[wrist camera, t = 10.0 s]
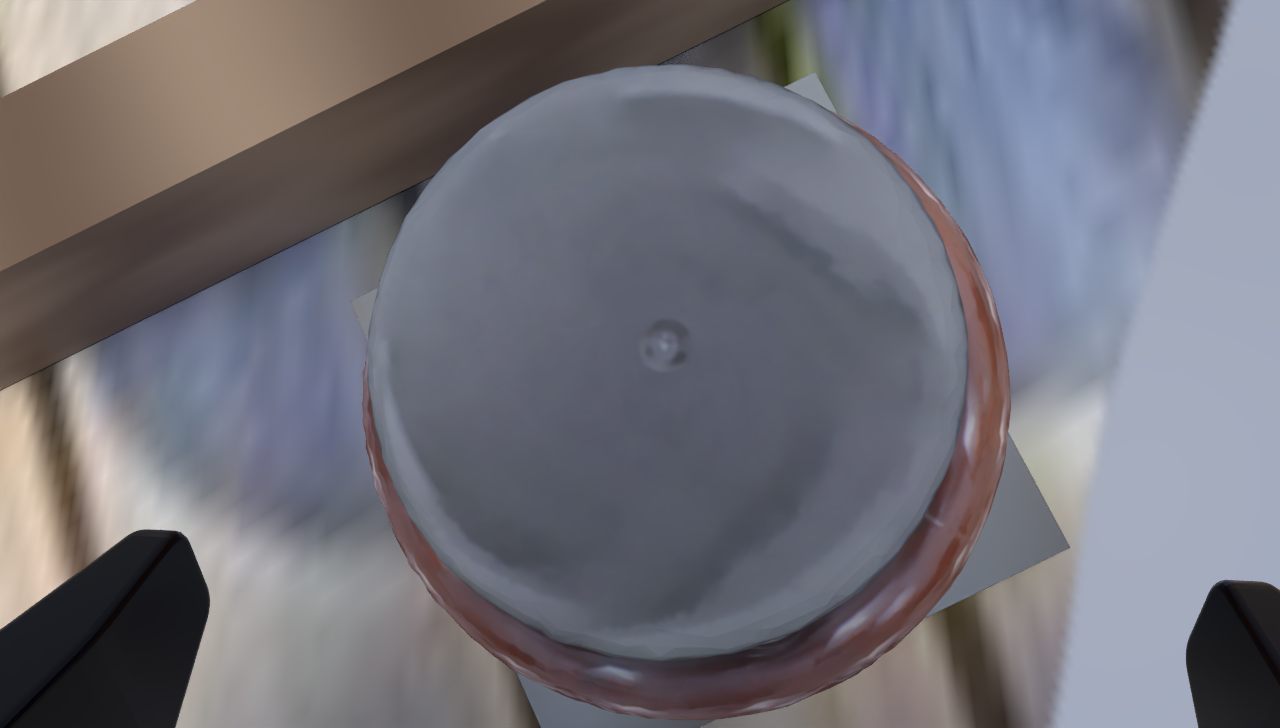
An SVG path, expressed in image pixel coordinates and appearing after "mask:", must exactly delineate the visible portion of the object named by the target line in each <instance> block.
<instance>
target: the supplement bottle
mask: <svg viewBox="0 0 1280 728" xmlns="http://www.w3.org/2000/svg"><path fill="white" fill-rule="evenodd" d="M362 406H363V424H364V429H365V435H366V450H367V453H368V456H369V460H370V464H371V468H372V472H373V477H374V485H375V487H376V490H377V493H378V495H379V498H380V500H381V502H382V504H383V506H384V508H385V510H386V513H387V516H388V520H389V523H390V525H391V527H392V530H393V532H394V534H395V537H396V539H397V541H398V543H399V544H400V546H401V548H402V550H403V552H404V554H405V556H406V557H407V559H408V563H409V565H410V566H411V568H412V569H413V570H414V571H415V572H416V573H417V574H418V575H419V576H420V577H421V579H422V581H423V582H424V584H425V586H426V588H427V590H428V592H429V593H430V594H431V596H432V597H433V598H434V600H435V601H436V602H437V603H438V604H439V605H440V606H441V607H443V608H444V609H445V610H446V611H447V612H448V614H449V615H450V616H451V617H452V618H453V619H454V620H455V621H456V622H457V623H458V624H459V626H460V627H461V628H462V629H463V630H464V631H465V632H466V633H467V634H468V635H469V636H470V637H471V638H473V639H474V640H475V641H477V642H478V643H479V644H481V645H482V646H483V647H484V648H485V649H486V650H488V651H489V652H490V653H491V654H492V655H493V656H495V657H496V658H498V659H499V660H501V661H502V662H503V663H505V664H506V665H507V666H508V667H509V668H511V669H513V670H514V671H516V672H518V673H520V674H522V675H523V676H525V677H527V678H529V679H531V680H532V681H534V682H536V683H538V684H540V685H542V686H544V687H546V688H549V689H551V690H553V691H555V692H557V693H559V694H561V695H563V696H566V697H568V698H571V699H573V700H576V701H580V702H585V703H588V704H591V705H593V706H596V707H598V708H600V709H603V710H607V711H611V712H614V713H618V714H625V715H638V716H641V717H644V718H647V719H668V720H711V719H724V718H730V717H737V716H743V715H750V714H756V713H761V712H766V711H771V710H775V709H779V708H783V707H787V706H790V705H792V704H794V703H797V702H799V701H801V700H803V699H805V698H808V697H810V696H812V695H814V694H817V693H819V692H822V691H824V690H826V689H829V688H831V687H833V686H835V685H837V684H839V683H842V682H843V681H845V680H847V679H849V678H851V677H853V676H855V675H857V674H858V673H859V672H861V671H862V670H863V669H865V668H867V667H868V666H870V665H872V664H873V663H874V662H875V661H876V660H877V659H878V658H879V657H880V656H881V655H883V654H884V653H886V652H888V651H889V650H891V649H893V648H894V647H895V646H896V645H897V644H898V643H899V642H900V641H901V640H902V639H903V638H904V637H905V636H906V635H907V634H908V633H910V632H911V631H912V630H913V629H914V628H915V627H916V626H917V625H918V624H919V623H920V622H921V621H922V620H923V619H924V618H925V617H926V616H927V614H928V613H929V612H930V611H931V610H932V609H933V607H934V606H935V605H936V604H937V603H938V602H939V600H940V599H941V598H942V597H943V596H944V595H945V593H946V592H947V591H948V590H949V589H950V587H951V586H952V584H953V582H954V580H955V579H956V578H957V576H958V575H959V574H960V572H961V571H962V569H963V567H964V566H965V564H966V562H967V560H968V558H969V556H970V554H971V552H972V550H973V548H974V546H975V544H976V542H977V540H978V538H979V536H980V534H981V531H982V529H983V527H984V525H985V522H986V520H987V518H988V516H989V513H990V510H991V507H992V504H993V500H994V497H995V494H996V491H997V487H998V484H999V481H1000V478H1001V475H1002V471H1003V467H1004V462H1005V457H1006V446H1007V436H1008V427H1009V419H1010V410H1011V399H1010V380H1009V369H1008V359H1007V352H1006V348H1005V343H1004V338H1003V333H1002V328H1001V324H1000V320H999V316H998V313H997V309H996V305H995V302H994V298H993V295H992V291H991V289H990V287H989V284H988V282H987V280H986V278H985V275H984V273H983V271H982V269H981V266H980V264H979V262H978V260H977V258H976V256H975V254H974V252H973V250H972V247H971V245H970V243H969V241H968V239H967V238H966V236H965V235H964V233H963V232H962V230H961V229H960V227H959V226H958V225H957V223H956V222H955V220H954V219H953V217H952V216H951V214H950V213H949V211H948V210H947V209H946V207H945V206H944V205H943V204H942V202H941V201H940V200H939V199H938V198H937V197H936V195H935V194H934V193H933V192H932V191H931V190H930V188H929V187H928V186H927V185H926V184H925V183H924V181H923V180H922V179H921V178H920V177H919V176H918V175H917V174H916V173H915V172H914V171H913V170H912V169H911V168H910V167H909V166H908V165H907V164H906V163H905V162H904V161H903V160H902V159H901V158H900V157H899V156H898V155H897V154H895V153H894V152H892V151H891V150H890V149H888V148H887V147H886V146H885V145H883V144H882V143H881V142H880V141H879V140H878V139H876V138H875V137H873V136H872V135H870V134H868V133H867V132H865V131H863V130H862V129H860V128H859V127H857V126H856V125H854V124H852V123H851V122H849V121H847V120H846V119H844V118H842V117H841V116H839V115H838V114H836V113H834V112H833V111H831V110H827V109H826V108H824V107H823V106H821V105H819V104H818V103H816V102H814V101H813V100H811V99H808V98H805V97H803V96H801V95H799V94H797V93H795V92H793V91H791V90H789V89H786V88H784V87H782V86H779V85H777V84H775V83H772V82H769V81H765V80H762V79H759V78H757V77H755V76H751V75H745V74H739V73H733V72H731V71H728V70H725V69H722V68H707V67H699V66H694V65H689V64H668V65H645V66H637V67H622V68H616V69H613V70H610V71H607V72H603V73H597V74H590V75H587V76H583V77H579V78H576V79H572V80H568V81H565V82H562V83H560V84H558V85H555V86H553V87H551V88H549V89H547V90H545V91H543V92H540V93H538V94H536V95H533V96H531V97H529V98H528V99H526V100H525V101H523V102H521V103H520V104H518V105H517V106H515V107H514V108H512V109H510V110H509V111H507V112H506V113H504V114H502V115H501V116H499V117H498V118H496V119H494V120H493V121H492V122H490V123H489V124H487V125H486V126H485V127H483V128H482V129H480V130H479V131H478V132H477V133H476V134H475V135H474V136H473V137H472V138H471V139H470V140H469V141H468V142H467V143H466V144H465V145H464V146H463V147H462V148H460V149H459V150H458V151H457V152H456V153H455V154H453V155H452V156H451V157H450V158H449V159H448V160H447V161H446V163H445V164H444V165H443V167H442V168H441V169H440V170H439V171H438V172H437V173H436V174H435V175H434V177H433V178H432V179H431V180H430V182H429V183H428V185H427V186H426V188H425V189H424V191H423V192H422V194H421V195H420V196H419V198H418V199H417V201H416V202H415V204H414V205H413V207H412V208H411V210H410V211H409V213H408V214H407V216H406V218H405V220H404V222H403V224H402V226H401V228H400V230H399V232H398V234H397V236H396V238H395V240H394V242H393V244H392V246H391V248H390V251H389V253H388V256H387V259H386V263H385V266H384V269H383V272H382V275H381V278H380V281H379V285H378V290H377V295H376V299H375V302H374V306H373V311H372V316H371V321H370V326H369V331H368V345H367V356H366V362H365V368H364V371H363V402H362Z"/></svg>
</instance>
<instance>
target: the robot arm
mask: <svg viewBox="0 0 1280 728" xmlns="http://www.w3.org/2000/svg"><path fill="white" fill-rule="evenodd" d="M209 607H210V597H209V591H208V587H207V585H206V582H205V580H204V577H203V575H202V572H201V570H200V567H199V565H198V562H197V560H196V557H195V555H194V552H193V550H192V547H191V545H190V542H189V540H188V539H187V537H186V536H184V535H183V534H182V533H181V532H178V531H167V530H139V531H136V532H133V533H131V534H130V535H128V536H127V537H125V538H124V539H123V540H121V541H120V542H118V543H117V544H116V545H114V546H113V547H112V548H110V549H109V550H108V551H106V552H105V553H104V554H102V555H101V556H100V557H98V558H97V559H95V560H94V561H93V562H91V563H90V564H89V565H87V566H86V567H85V568H83V569H82V570H81V571H79V572H78V573H77V574H75V575H74V576H72V577H71V578H70V579H68V580H67V581H66V582H64V583H63V584H62V585H60V586H59V587H58V588H56V589H55V590H53V591H52V592H51V593H49V594H48V595H47V596H45V597H44V598H43V599H41V600H40V601H39V602H37V603H36V604H35V605H33V606H32V607H30V608H29V609H28V610H26V611H25V612H24V613H22V614H21V615H20V616H18V617H17V618H16V619H14V620H13V621H12V622H10V623H9V624H7V625H6V626H5V627H3V628H2V629H1V630H0V728H175V727H176V724H177V720H178V717H179V713H180V710H181V707H182V703H183V700H184V697H185V693H186V690H187V686H188V683H189V680H190V676H191V673H192V669H193V666H194V663H195V659H196V656H197V652H198V649H199V646H200V642H201V639H202V635H203V632H204V629H205V625H206V622H207V618H208V614H209ZM1186 665H1187V672H1188V677H1189V682H1190V687H1191V692H1192V697H1193V702H1194V707H1195V713H1196V718H1197V722H1198V728H1280V590H1279V589H1277V588H1276V587H1274V586H1272V585H1271V584H1268V583H1264V582H1256V581H1235V580H1234V581H1233V580H1223V581H1219V582H1218V583H1216V584H1215V585H1214V586H1213V587H1212V588H1211V590H1210V592H1209V594H1208V596H1207V599H1206V601H1205V603H1204V605H1203V608H1202V610H1201V612H1200V614H1199V617H1198V619H1197V621H1196V624H1195V626H1194V628H1193V630H1192V633H1191V635H1190V637H1189V640H1188V643H1187V649H1186Z"/></svg>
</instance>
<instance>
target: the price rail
mask: <svg viewBox="0 0 1280 728" xmlns="http://www.w3.org/2000/svg"><path fill="white" fill-rule="evenodd" d="M785 1H787V0H197V1H195V2H193V3H191V4H189V5H187V6H185V7H183V8H181V9H179V10H177V11H175V12H173V13H171V14H169V15H167V16H165V17H163V18H161V19H159V20H157V21H155V22H153V23H151V24H148V25H146V26H144V27H142V28H140V29H138V30H136V31H134V32H132V33H130V34H128V35H126V36H124V37H122V38H120V39H118V40H116V41H114V42H112V43H110V44H108V45H106V46H104V47H102V48H100V49H98V50H96V51H94V52H92V53H90V54H88V55H86V56H84V57H82V58H80V59H78V60H76V61H74V62H72V63H70V64H68V65H66V66H64V67H62V68H60V69H58V70H56V71H54V72H52V73H50V74H48V75H46V76H44V77H42V78H40V79H38V80H36V81H34V82H32V83H30V84H28V85H26V86H24V87H22V88H20V89H18V90H16V91H14V92H12V93H10V94H8V95H6V96H4V97H2V98H0V390H1V389H3V388H5V387H7V386H9V385H11V384H13V383H15V382H18V381H20V380H22V379H24V378H26V377H28V376H30V375H32V374H34V373H36V372H38V371H40V370H42V369H44V368H46V367H48V366H50V365H52V364H54V363H56V362H58V361H60V360H62V359H64V358H66V357H68V356H70V355H72V354H74V353H76V352H78V351H80V350H82V349H84V348H86V347H88V346H90V345H92V344H94V343H96V342H98V341H100V340H102V339H104V338H106V337H108V336H110V335H113V334H115V333H117V332H119V331H121V330H123V329H125V328H127V327H129V326H131V325H133V324H135V323H137V322H139V321H141V320H143V319H145V318H147V317H149V316H151V315H153V314H155V313H157V312H159V311H161V310H163V309H165V308H167V307H169V306H171V305H173V304H175V303H177V302H179V301H181V300H183V299H185V298H187V297H189V296H191V295H193V294H195V293H197V292H199V291H201V290H203V289H205V288H207V287H210V286H212V285H214V284H216V283H218V282H220V281H222V280H224V279H226V278H228V277H230V276H232V275H234V274H236V273H238V272H240V271H242V270H244V269H246V268H248V267H250V266H252V265H254V264H256V263H258V262H260V261H262V260H264V259H266V258H268V257H270V256H272V255H274V254H276V253H278V252H280V251H282V250H284V249H286V248H288V247H290V246H292V245H294V244H296V243H298V242H300V241H302V240H304V239H307V238H309V237H311V236H313V235H315V234H317V233H319V232H321V231H323V230H325V229H327V228H329V227H331V226H333V225H335V224H337V223H339V222H341V221H343V220H345V219H347V218H349V217H351V216H353V215H355V214H357V213H359V212H361V211H363V210H365V209H367V208H369V207H371V206H373V205H375V204H377V203H379V202H381V201H383V200H385V199H387V198H389V197H391V196H393V195H395V194H397V193H399V192H401V191H404V190H406V189H408V188H410V187H412V186H414V185H416V184H418V183H420V182H422V181H424V180H426V179H428V178H430V177H432V176H434V175H435V174H436V173H437V172H438V171H439V170H440V169H441V168H442V167H443V165H444V164H445V163H446V161H447V160H448V159H449V158H450V157H451V156H452V155H453V154H455V153H456V152H457V151H458V150H459V149H460V148H462V147H463V146H464V145H465V144H466V143H467V142H468V141H469V140H470V139H471V138H472V137H473V136H474V135H475V134H476V133H477V132H478V131H479V130H480V129H482V128H483V127H485V126H486V125H487V124H489V123H490V122H492V121H493V120H494V119H496V118H498V117H499V116H501V115H502V114H504V113H506V112H507V111H509V110H510V109H512V108H514V107H515V106H517V105H518V104H520V103H521V102H523V101H525V100H526V99H528V98H529V97H531V96H533V95H536V94H538V93H540V92H543V91H545V90H547V89H549V88H551V87H553V86H555V85H558V84H560V83H562V82H565V81H568V80H572V79H576V78H579V77H583V76H587V75H590V74H597V73H603V72H607V71H610V70H613V69H616V68H622V67H637V66H645V65H658V64H660V63H662V62H664V61H666V60H668V59H670V58H672V57H674V56H676V55H678V54H680V53H682V52H684V51H686V50H688V49H690V48H692V47H695V46H697V45H699V44H701V43H703V42H705V41H707V40H709V39H711V38H713V37H715V36H717V35H719V34H721V33H723V32H725V31H727V30H729V29H731V28H733V27H735V26H737V25H739V24H741V23H743V22H745V21H747V20H749V19H751V18H753V17H755V16H757V15H759V14H761V13H763V12H765V11H767V10H769V9H771V8H773V7H775V6H777V5H779V4H781V3H783V2H785ZM784 88H786V89H789V90H791V91H793V92H795V93H797V94H799V95H801V96H803V97H805V98H808V99H811V100H813V101H814V102H816V103H818V104H819V105H821V106H823V107H824V108H826V109H827V110H831V111H833V112H834V113H836V114H837V112H836V110H835V108H834V107H833V105H832V103H831V101H830V99H829V97H828V95H827V94H826V92H825V90H824V88H823V86H822V84H821V82H820V81H819V79H818V77H817V75H816V73H815V72H814V73H812V74H810V75H808V76H806V77H804V78H802V79H800V80H798V81H796V82H794V83H792V84H790V85H788V86H786V87H784ZM377 290H378V288H376V289H374V290H372V291H370V292H368V293H366V294H364V295H362V296H360V297H358V298H356V299H354V300H352V301H350V303H351V305H352V308H353V310H354V312H355V314H356V317H357V319H358V321H359V323H360V326H361V328H362V330H363V332H364V334H365V337H366V339H367V341H368V331H369V326H370V321H371V316H372V311H373V306H374V302H375V299H376V295H377ZM1068 548H1070V546H1069V545H1068V543H1067V541H1066V539H1065V537H1064V535H1063V533H1062V531H1061V530H1060V528H1059V526H1058V524H1057V522H1056V520H1055V518H1054V517H1053V515H1052V513H1051V511H1050V509H1049V507H1048V505H1047V504H1046V502H1045V500H1044V498H1043V496H1042V494H1041V492H1040V490H1039V489H1038V487H1037V485H1036V483H1035V481H1034V479H1033V477H1032V476H1031V474H1030V472H1029V470H1028V468H1027V466H1026V464H1025V463H1024V461H1023V459H1022V457H1021V455H1020V453H1019V451H1018V449H1017V448H1016V446H1015V444H1014V442H1013V440H1012V438H1011V436H1010V435H1009V433H1008V436H1007V446H1006V457H1005V462H1004V467H1003V471H1002V475H1001V478H1000V481H999V484H998V487H997V491H996V494H995V497H994V500H993V504H992V507H991V510H990V513H989V516H988V518H987V520H986V522H985V525H984V527H983V529H982V531H981V534H980V536H979V538H978V540H977V542H976V544H975V546H974V548H973V550H972V552H971V554H970V556H969V558H968V560H967V562H966V564H965V566H964V567H963V569H962V571H961V572H960V574H959V575H958V576H957V578H956V579H955V580H954V582H953V584H952V586H951V587H950V589H949V590H948V591H947V592H946V593H945V595H944V596H943V597H942V598H941V599H940V600H939V602H938V603H937V604H936V605H935V606H934V607H933V609H932V610H931V611H930V612H929V613H928V614H927V616H926V617H928V616H930V615H932V614H934V613H936V612H938V611H940V610H942V609H944V608H947V607H949V606H951V605H953V604H955V603H957V602H959V601H961V600H963V599H965V598H967V597H969V596H971V595H973V594H975V593H977V592H980V591H982V590H984V589H986V588H988V587H990V586H992V585H994V584H996V583H998V582H1000V581H1002V580H1004V579H1006V578H1008V577H1011V576H1013V575H1015V574H1017V573H1019V572H1021V571H1023V570H1025V569H1027V568H1029V567H1031V566H1033V565H1035V564H1037V563H1039V562H1041V561H1044V560H1046V559H1048V558H1050V557H1052V556H1054V555H1056V554H1058V553H1060V552H1062V551H1064V550H1066V549H1068ZM926 617H925V618H926ZM516 673H517V675H518V677H519V680H520V682H521V684H522V686H523V688H524V691H525V693H526V695H527V697H528V700H529V702H530V704H531V706H532V709H533V711H534V713H535V715H536V717H537V720H538V722H539V724H540V726H541V728H699V727H701V726H703V725H705V724H707V723H709V722H711V721H713V720H715V719H711V720H668V719H647V718H644V717H641V716H638V715H625V714H618V713H614V712H611V711H607V710H603V709H600V708H598V707H596V706H593V705H591V704H588V703H585V702H580V701H576V700H573V699H571V698H568V697H566V696H563V695H561V694H559V693H557V692H555V691H553V690H551V689H549V688H546V687H544V686H542V685H540V684H538V683H536V682H534V681H532V680H531V679H529V678H527V677H525V676H523V675H522V674H520V673H518V672H516Z"/></svg>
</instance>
